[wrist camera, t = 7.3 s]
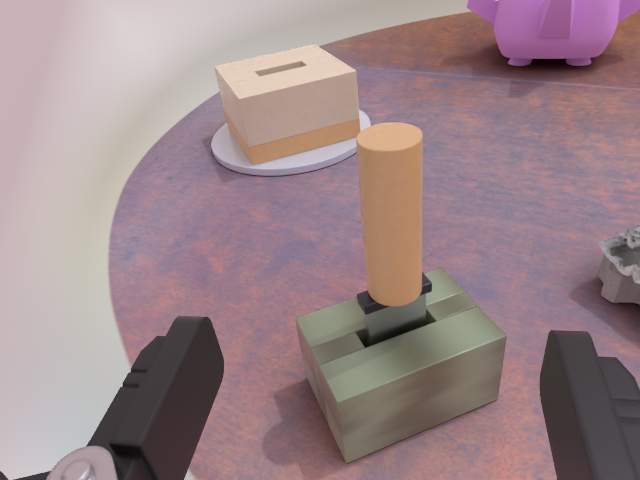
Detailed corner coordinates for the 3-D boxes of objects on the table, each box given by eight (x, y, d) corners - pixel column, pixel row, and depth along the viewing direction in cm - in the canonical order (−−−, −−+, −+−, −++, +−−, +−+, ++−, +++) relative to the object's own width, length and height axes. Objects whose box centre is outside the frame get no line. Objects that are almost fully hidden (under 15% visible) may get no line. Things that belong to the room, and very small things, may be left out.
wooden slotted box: (252, 165, 52) (238, 98, 48) (227, 124, 62) (213, 66, 57) (361, 136, 55) (356, 70, 51) (321, 101, 64) (314, 43, 60)
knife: (379, 418, 28) (361, 160, 19) (359, 382, 30) (334, 134, 21) (438, 394, 29) (447, 136, 20) (414, 361, 31) (413, 113, 22)
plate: (182, 170, 55) (180, 163, 54) (253, 104, 68) (252, 98, 68) (343, 182, 49) (343, 174, 49) (387, 107, 62) (387, 101, 62)
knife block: (346, 464, 26) (336, 402, 23) (306, 378, 31) (294, 317, 28) (498, 399, 28) (507, 335, 25) (439, 327, 33) (441, 266, 30)
